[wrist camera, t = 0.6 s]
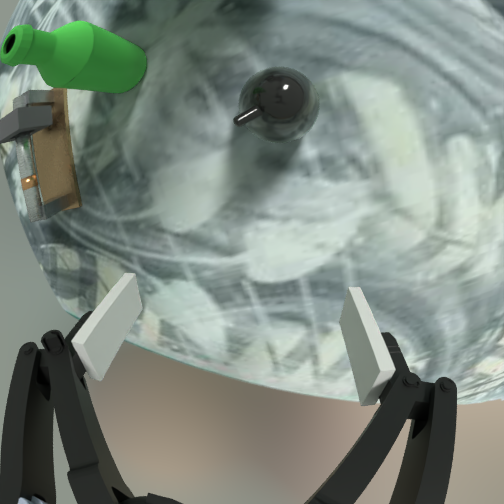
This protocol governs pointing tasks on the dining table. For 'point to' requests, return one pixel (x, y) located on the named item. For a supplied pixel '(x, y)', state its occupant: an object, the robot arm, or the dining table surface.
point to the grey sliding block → (24, 121)
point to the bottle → (77, 57)
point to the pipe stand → (47, 158)
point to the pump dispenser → (278, 105)
